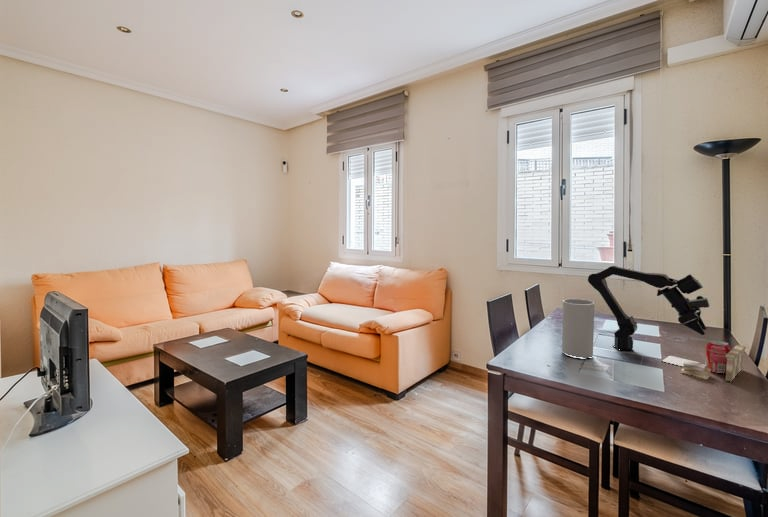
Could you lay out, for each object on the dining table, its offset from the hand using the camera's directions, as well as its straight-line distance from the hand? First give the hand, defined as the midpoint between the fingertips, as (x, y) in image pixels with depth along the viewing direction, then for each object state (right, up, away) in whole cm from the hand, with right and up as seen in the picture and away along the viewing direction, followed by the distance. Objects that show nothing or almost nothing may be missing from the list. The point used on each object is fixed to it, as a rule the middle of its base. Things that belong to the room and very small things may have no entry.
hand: (704, 332), depth 146 cm
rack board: (+2, -15, -10) cm, 18 cm away
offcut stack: (-11, -15, -8) cm, 21 cm away
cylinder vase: (-45, -14, +15) cm, 49 cm away
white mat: (-7, -14, +4) cm, 16 cm away
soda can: (-1, -15, -6) cm, 16 cm away
